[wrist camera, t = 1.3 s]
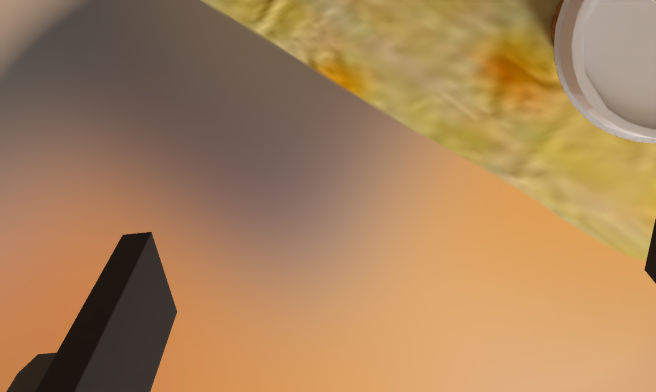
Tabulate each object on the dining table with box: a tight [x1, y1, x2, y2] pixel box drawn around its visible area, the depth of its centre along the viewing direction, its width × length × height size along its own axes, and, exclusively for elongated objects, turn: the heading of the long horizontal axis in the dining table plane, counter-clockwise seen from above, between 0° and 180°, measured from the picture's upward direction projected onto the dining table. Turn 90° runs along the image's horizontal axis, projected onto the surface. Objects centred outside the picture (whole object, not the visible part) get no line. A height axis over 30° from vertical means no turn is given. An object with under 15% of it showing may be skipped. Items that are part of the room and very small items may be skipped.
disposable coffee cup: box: [552, 0, 656, 143], centre depth 28 cm, size 10×10×12 cm
